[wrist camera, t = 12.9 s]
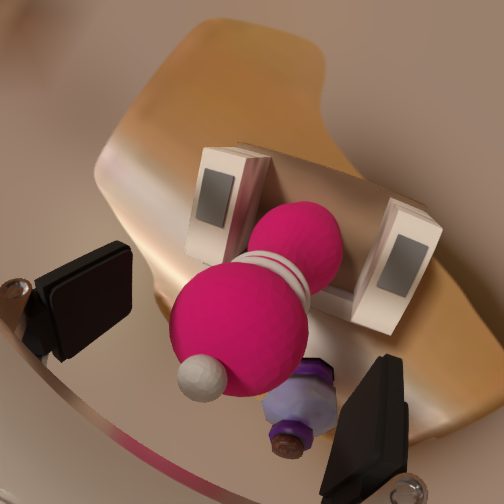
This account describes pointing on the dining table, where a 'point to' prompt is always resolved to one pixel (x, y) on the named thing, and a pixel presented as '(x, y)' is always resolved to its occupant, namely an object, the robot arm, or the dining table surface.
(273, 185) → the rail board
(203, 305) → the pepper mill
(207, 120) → the dining table surface
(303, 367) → the potion bottle
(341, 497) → the robot arm
